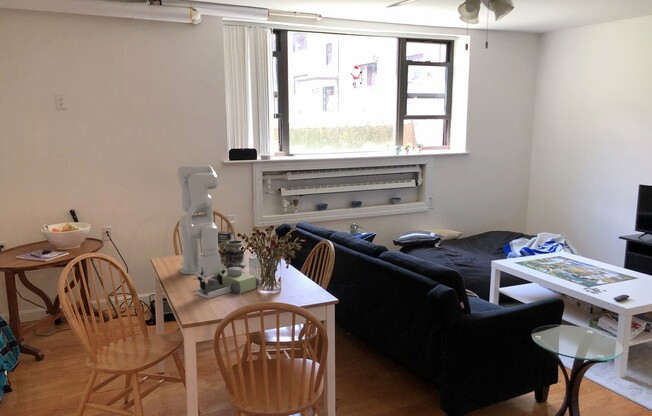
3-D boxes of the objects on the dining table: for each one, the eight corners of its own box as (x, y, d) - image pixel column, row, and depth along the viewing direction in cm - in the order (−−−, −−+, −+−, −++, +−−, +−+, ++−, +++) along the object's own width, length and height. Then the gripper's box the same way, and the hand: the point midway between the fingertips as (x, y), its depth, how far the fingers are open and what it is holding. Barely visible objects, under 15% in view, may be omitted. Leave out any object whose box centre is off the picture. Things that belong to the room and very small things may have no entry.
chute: (203, 293, 245) (203, 280, 244) (212, 290, 249) (211, 277, 248) (211, 296, 241) (210, 282, 240) (219, 293, 245) (219, 280, 244)
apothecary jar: (241, 278, 268) (241, 244, 265) (220, 276, 271) (219, 243, 268) (249, 271, 280) (249, 239, 277) (229, 270, 282) (228, 238, 279)
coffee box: (216, 259, 304) (215, 233, 301) (220, 257, 310) (219, 231, 307) (231, 260, 302) (230, 233, 300) (234, 257, 309) (234, 231, 306)
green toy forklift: (189, 291, 248) (188, 273, 246) (232, 278, 267) (232, 262, 266) (215, 301, 234) (215, 282, 233) (259, 287, 254) (259, 269, 252)
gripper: (220, 247, 250) (221, 280, 253) (189, 253, 238) (191, 289, 240) (229, 249, 245) (230, 284, 248) (199, 256, 233) (200, 292, 236)
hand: (211, 286), depth 244 cm, fingers open, 9 cm apart
